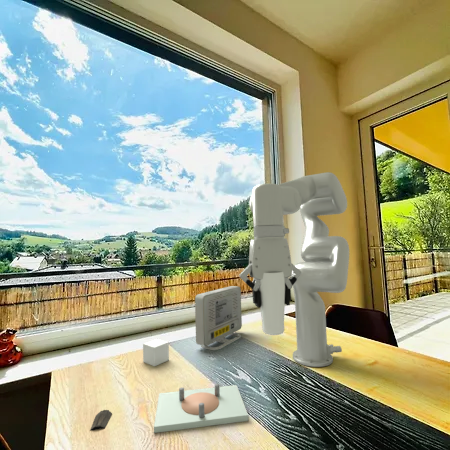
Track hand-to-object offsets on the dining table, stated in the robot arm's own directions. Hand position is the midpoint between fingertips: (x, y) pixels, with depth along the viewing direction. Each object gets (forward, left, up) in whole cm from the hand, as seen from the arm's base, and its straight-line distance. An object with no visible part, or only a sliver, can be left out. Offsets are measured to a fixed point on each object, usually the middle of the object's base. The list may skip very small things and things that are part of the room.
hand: (272, 304), depth 68 cm
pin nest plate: (+18, -1, -23) cm, 29 cm away
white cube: (+31, -31, -23) cm, 50 cm away
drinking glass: (0, 0, -7) cm, 7 cm away
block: (+40, -1, -24) cm, 47 cm away
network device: (+7, -44, -23) cm, 51 cm away
